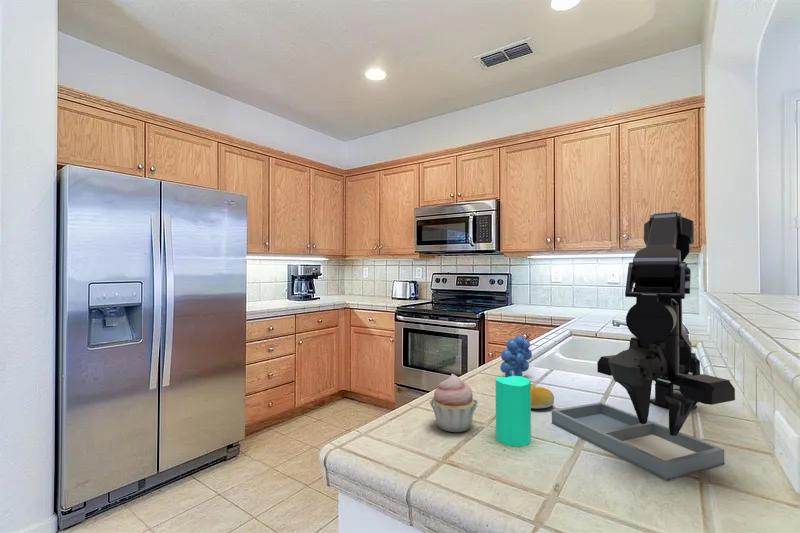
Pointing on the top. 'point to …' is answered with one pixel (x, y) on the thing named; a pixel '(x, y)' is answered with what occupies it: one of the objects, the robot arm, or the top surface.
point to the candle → (513, 410)
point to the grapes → (516, 356)
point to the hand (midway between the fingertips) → (657, 429)
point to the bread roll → (541, 397)
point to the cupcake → (453, 405)
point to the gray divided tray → (639, 440)
